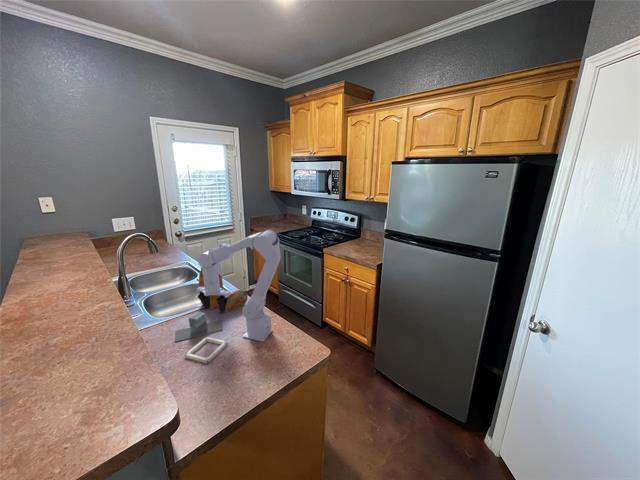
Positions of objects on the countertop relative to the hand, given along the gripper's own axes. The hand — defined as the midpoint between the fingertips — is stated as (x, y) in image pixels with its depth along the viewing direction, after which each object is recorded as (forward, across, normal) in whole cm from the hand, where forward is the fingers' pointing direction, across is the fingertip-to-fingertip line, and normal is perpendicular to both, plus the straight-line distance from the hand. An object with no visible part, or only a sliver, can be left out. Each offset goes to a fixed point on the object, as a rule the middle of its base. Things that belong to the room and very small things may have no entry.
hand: (215, 310), depth 108 cm
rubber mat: (+9, -7, -3) cm, 12 cm away
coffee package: (+10, -18, +18) cm, 27 cm away
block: (+9, -7, -3) cm, 12 cm away
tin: (+10, -5, +17) cm, 20 cm away
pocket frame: (+9, +5, -12) cm, 16 cm away
